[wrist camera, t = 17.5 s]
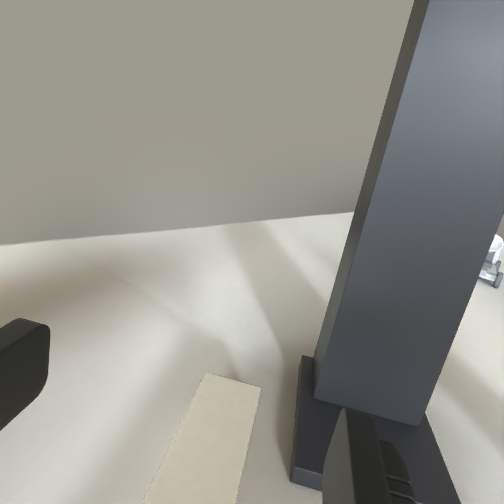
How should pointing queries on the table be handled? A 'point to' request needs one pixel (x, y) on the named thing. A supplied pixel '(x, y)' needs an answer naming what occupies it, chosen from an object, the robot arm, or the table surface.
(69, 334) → the table surface
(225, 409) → the cream rectangular bar
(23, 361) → the robot arm
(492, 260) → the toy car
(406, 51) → the dark grey pillar
